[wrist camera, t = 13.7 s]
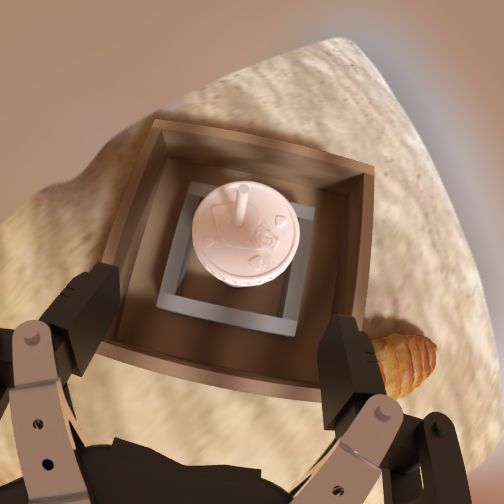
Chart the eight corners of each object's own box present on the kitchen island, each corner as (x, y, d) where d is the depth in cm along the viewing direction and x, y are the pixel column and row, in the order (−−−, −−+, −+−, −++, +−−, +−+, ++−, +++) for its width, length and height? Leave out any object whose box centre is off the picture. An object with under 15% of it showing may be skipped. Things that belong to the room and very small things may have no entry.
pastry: (423, 322, 28) (445, 319, 25) (430, 381, 27) (452, 384, 23) (346, 343, 27) (363, 344, 24) (355, 409, 26) (372, 418, 22)
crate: (108, 346, 25) (80, 347, 19) (164, 154, 31) (155, 118, 25) (323, 392, 26) (348, 404, 20) (350, 194, 31) (374, 166, 25)
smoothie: (225, 219, 28) (230, 118, 15) (287, 254, 28) (343, 178, 14) (187, 278, 26) (153, 217, 13) (251, 317, 26) (283, 294, 13)
